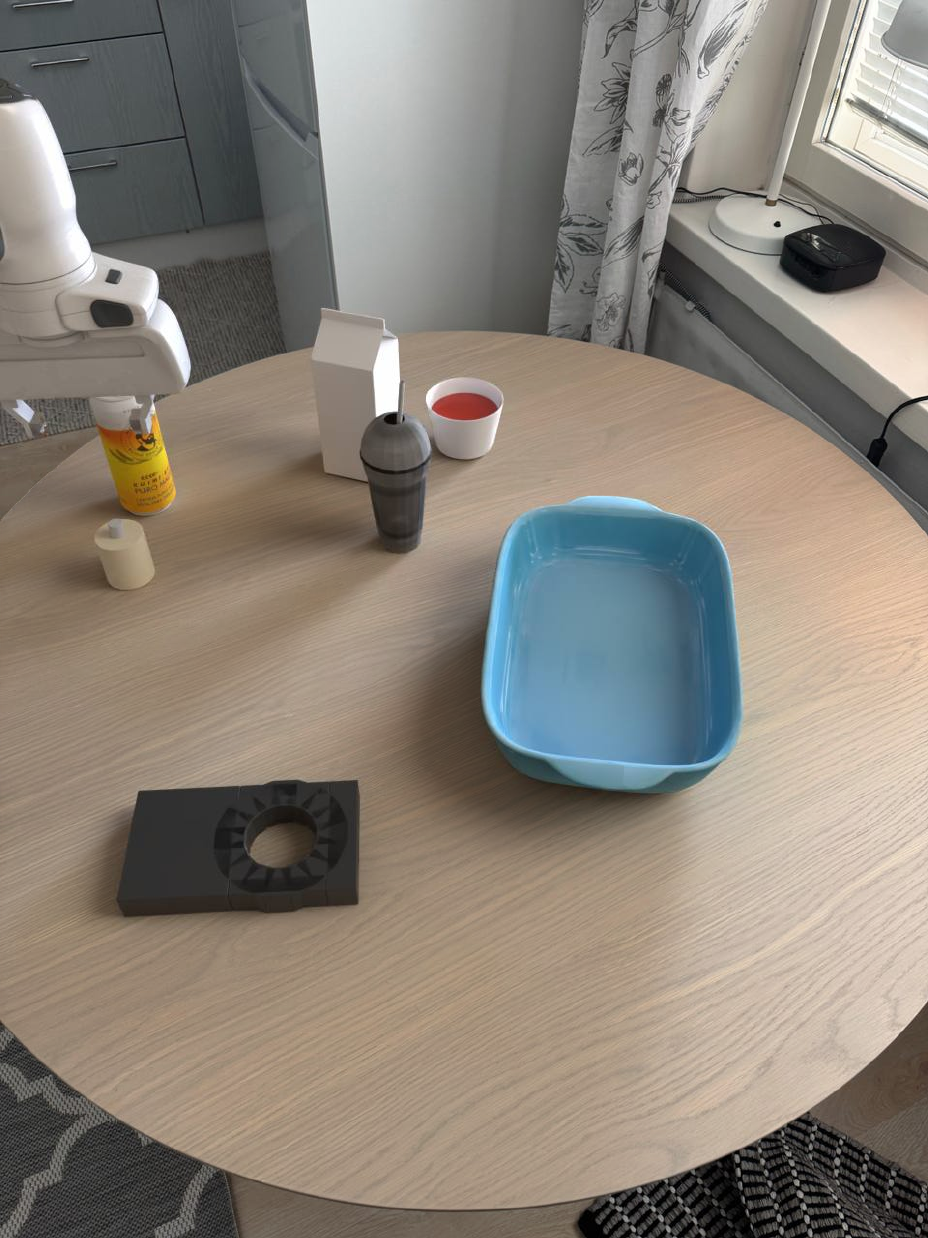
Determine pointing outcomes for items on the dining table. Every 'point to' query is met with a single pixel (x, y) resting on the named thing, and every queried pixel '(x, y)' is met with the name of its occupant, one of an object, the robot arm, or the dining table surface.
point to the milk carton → (352, 385)
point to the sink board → (239, 849)
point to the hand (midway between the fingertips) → (91, 432)
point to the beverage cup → (397, 475)
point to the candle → (464, 416)
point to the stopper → (124, 554)
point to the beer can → (134, 456)
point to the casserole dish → (612, 647)
